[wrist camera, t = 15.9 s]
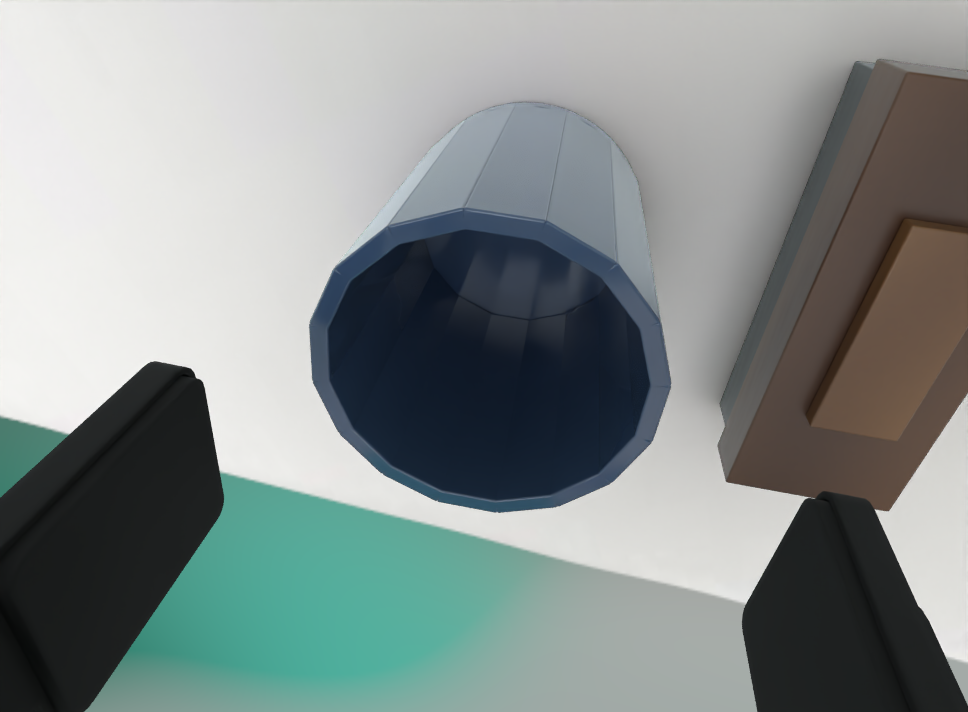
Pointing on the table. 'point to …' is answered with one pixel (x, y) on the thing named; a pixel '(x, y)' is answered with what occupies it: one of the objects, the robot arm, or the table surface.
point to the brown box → (863, 300)
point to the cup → (499, 318)
